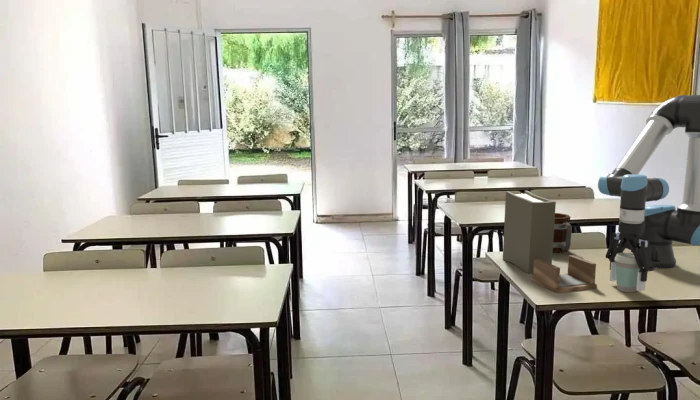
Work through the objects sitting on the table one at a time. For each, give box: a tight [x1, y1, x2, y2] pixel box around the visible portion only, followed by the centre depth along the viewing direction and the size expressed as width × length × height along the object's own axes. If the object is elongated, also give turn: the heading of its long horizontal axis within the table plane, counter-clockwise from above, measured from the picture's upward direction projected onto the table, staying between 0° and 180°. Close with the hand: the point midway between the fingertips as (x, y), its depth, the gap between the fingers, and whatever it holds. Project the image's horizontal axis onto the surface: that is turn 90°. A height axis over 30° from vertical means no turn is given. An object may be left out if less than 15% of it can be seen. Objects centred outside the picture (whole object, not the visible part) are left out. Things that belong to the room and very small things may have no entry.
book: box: [502, 190, 557, 275], centre depth 222 cm, size 22×9×28 cm, turn 12°
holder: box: [530, 254, 598, 294], centre depth 200 cm, size 16×14×8 cm
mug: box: [552, 212, 573, 255], centre depth 244 cm, size 20×14×15 cm
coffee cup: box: [615, 252, 640, 293], centre depth 193 cm, size 8×9×12 cm
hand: (626, 285), depth 194 cm, fingers open, 11 cm apart
